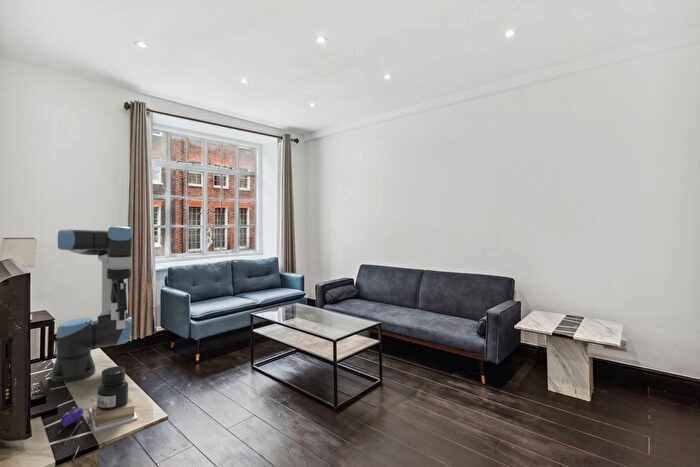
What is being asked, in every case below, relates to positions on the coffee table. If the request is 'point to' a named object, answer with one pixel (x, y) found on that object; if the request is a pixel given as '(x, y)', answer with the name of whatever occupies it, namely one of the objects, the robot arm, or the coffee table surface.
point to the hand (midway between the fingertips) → (117, 324)
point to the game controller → (72, 416)
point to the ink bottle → (112, 389)
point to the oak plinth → (112, 412)
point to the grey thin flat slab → (112, 423)
